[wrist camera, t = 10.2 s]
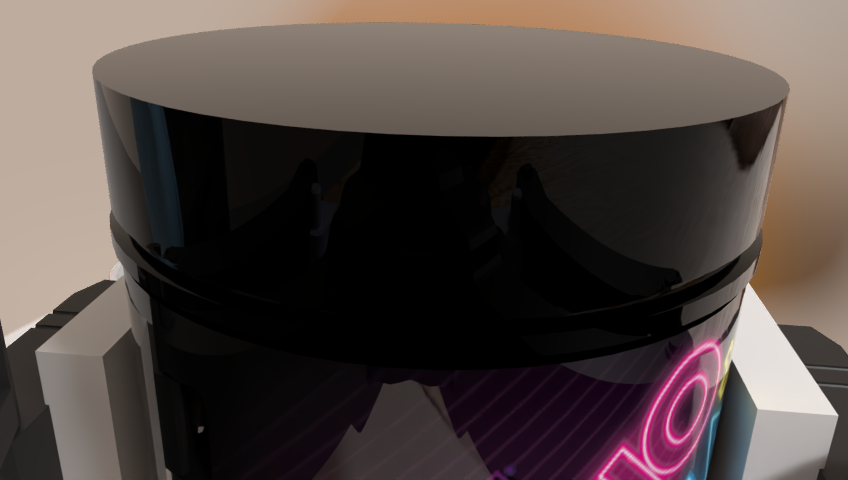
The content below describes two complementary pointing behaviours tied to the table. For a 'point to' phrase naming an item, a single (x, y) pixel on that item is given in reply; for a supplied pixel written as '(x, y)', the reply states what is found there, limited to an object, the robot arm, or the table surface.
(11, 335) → the table surface
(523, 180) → the supplement container
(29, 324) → the table surface
